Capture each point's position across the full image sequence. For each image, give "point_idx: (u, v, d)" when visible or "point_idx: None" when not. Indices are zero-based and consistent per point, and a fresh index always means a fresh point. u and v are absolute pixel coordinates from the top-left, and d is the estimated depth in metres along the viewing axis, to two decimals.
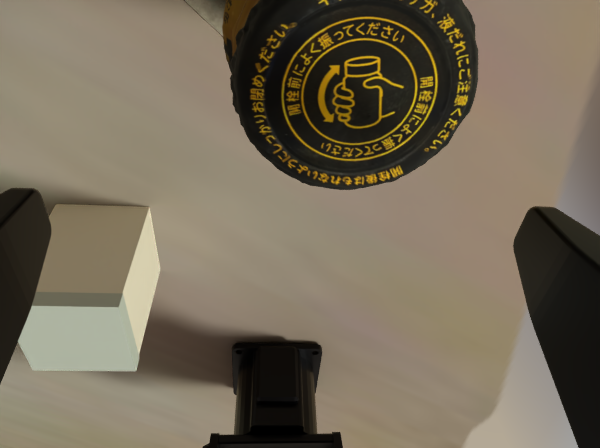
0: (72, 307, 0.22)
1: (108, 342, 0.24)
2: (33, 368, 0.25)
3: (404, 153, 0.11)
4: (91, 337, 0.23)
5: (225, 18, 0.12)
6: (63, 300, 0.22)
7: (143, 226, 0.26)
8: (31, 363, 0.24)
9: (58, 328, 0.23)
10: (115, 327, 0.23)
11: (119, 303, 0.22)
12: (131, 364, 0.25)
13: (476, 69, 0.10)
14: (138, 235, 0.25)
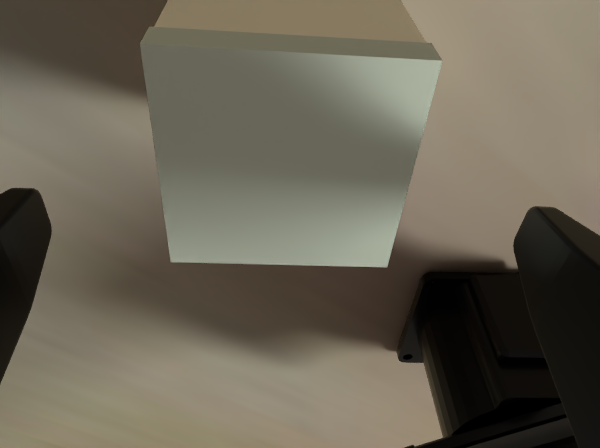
0: (326, 58, 0.08)
1: (360, 186, 0.10)
2: (173, 256, 0.11)
3: None
4: (332, 166, 0.10)
5: None
6: (296, 46, 0.09)
7: None
8: (173, 241, 0.11)
9: (266, 134, 0.09)
10: (402, 133, 0.09)
11: (437, 56, 0.09)
12: (385, 248, 0.11)
13: None
14: None
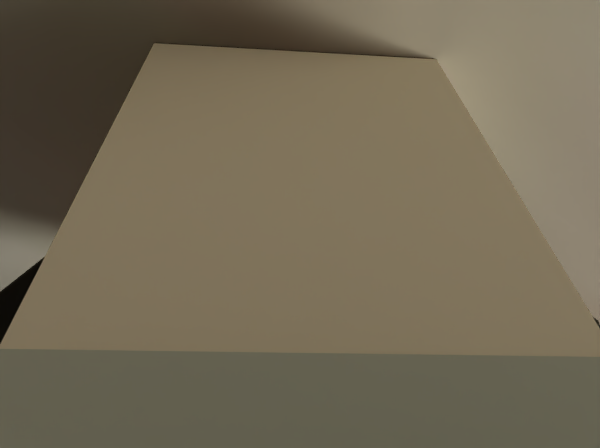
0: None
1: None
2: None
3: None
4: None
5: None
6: (332, 404, 0.04)
7: None
8: None
9: None
10: None
11: None
12: None
13: None
14: (468, 124, 0.07)
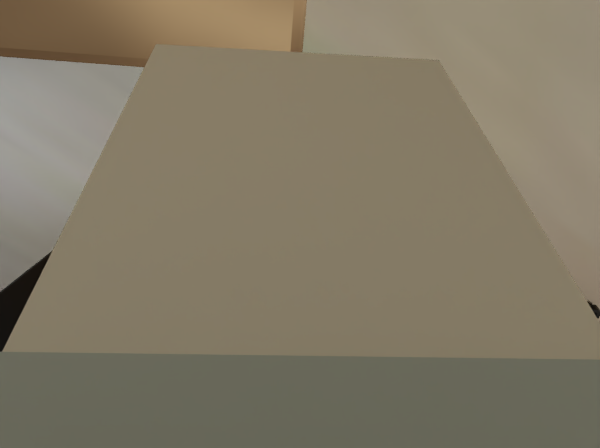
0: None
1: None
2: None
3: None
4: None
5: None
6: (338, 408, 0.04)
7: None
8: None
9: None
10: None
11: None
12: None
13: None
14: (471, 125, 0.07)
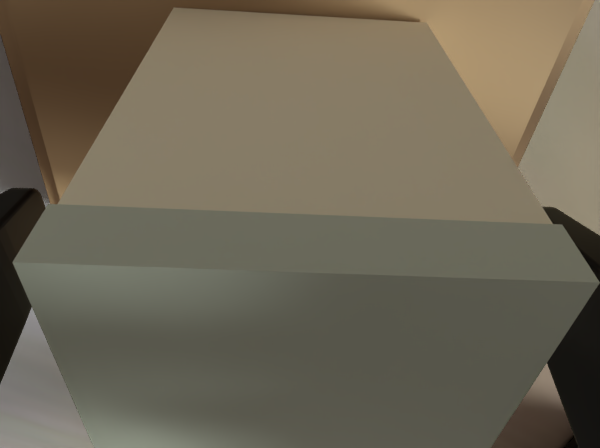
0: (376, 280, 0.04)
1: (419, 427, 0.06)
2: None
3: None
4: (376, 410, 0.06)
5: None
6: (319, 246, 0.05)
7: None
8: None
9: (263, 376, 0.05)
10: (504, 374, 0.05)
11: (585, 265, 0.05)
12: None
13: None
14: (450, 70, 0.08)
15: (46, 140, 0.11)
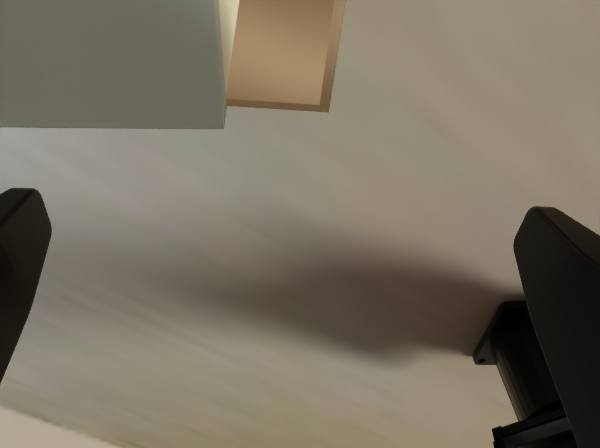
0: None
1: (153, 3, 0.08)
2: None
3: None
4: None
5: None
6: None
7: None
8: None
9: None
10: None
11: None
12: (213, 100, 0.09)
13: None
14: None
15: None
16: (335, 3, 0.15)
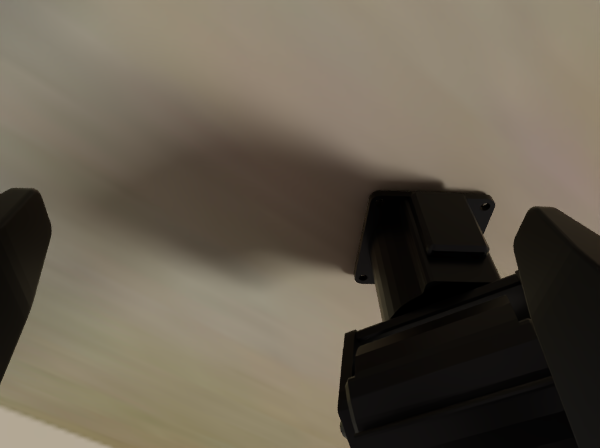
0: None
1: None
2: None
3: None
4: None
5: None
6: None
7: None
8: None
9: None
10: None
11: None
12: None
13: None
14: None
15: None
16: None
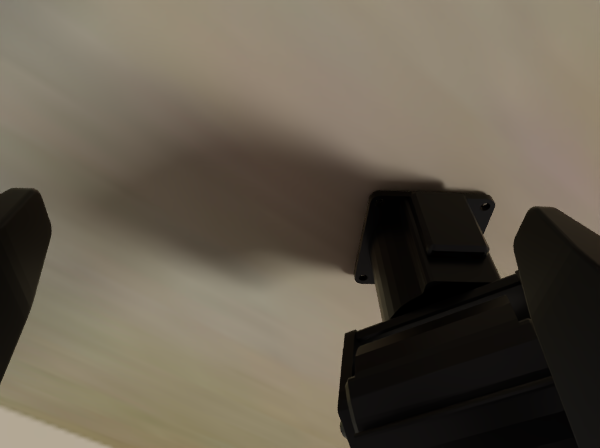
0: None
1: None
2: None
3: None
4: None
5: None
6: None
7: None
8: None
9: None
10: None
11: None
12: None
13: None
14: None
15: None
16: None
